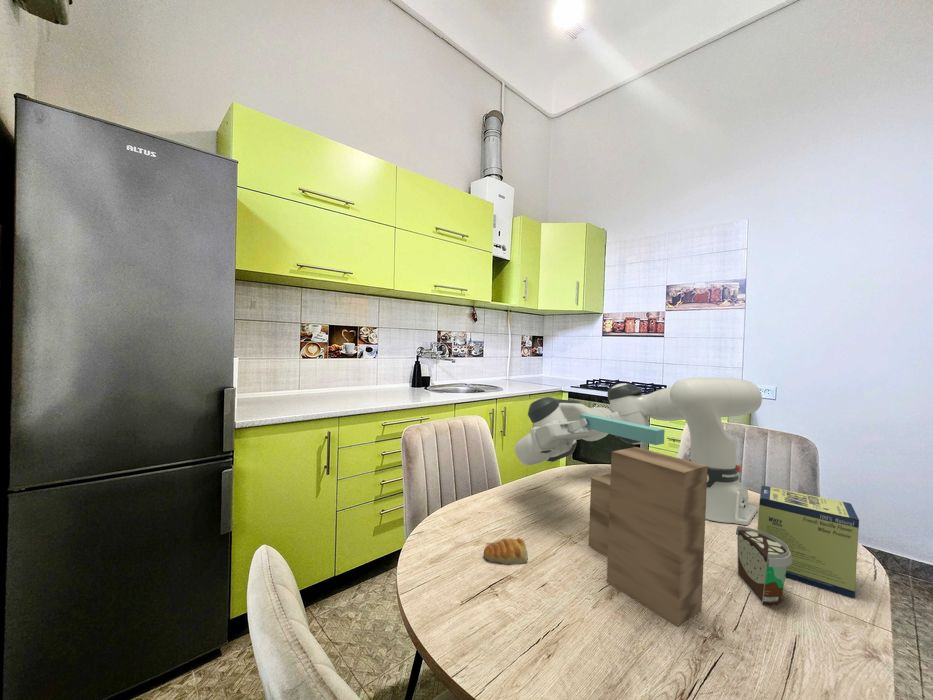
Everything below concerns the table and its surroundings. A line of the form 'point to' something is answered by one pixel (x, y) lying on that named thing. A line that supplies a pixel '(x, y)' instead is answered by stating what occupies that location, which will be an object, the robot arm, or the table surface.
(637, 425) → the teal block
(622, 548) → the walnut stand
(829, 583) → the protein box
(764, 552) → the food container
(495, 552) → the pastry
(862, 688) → the table surface
